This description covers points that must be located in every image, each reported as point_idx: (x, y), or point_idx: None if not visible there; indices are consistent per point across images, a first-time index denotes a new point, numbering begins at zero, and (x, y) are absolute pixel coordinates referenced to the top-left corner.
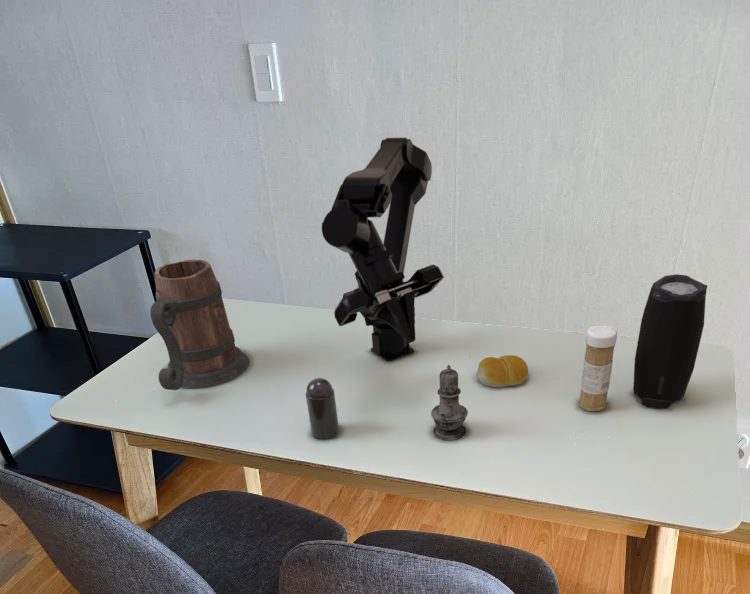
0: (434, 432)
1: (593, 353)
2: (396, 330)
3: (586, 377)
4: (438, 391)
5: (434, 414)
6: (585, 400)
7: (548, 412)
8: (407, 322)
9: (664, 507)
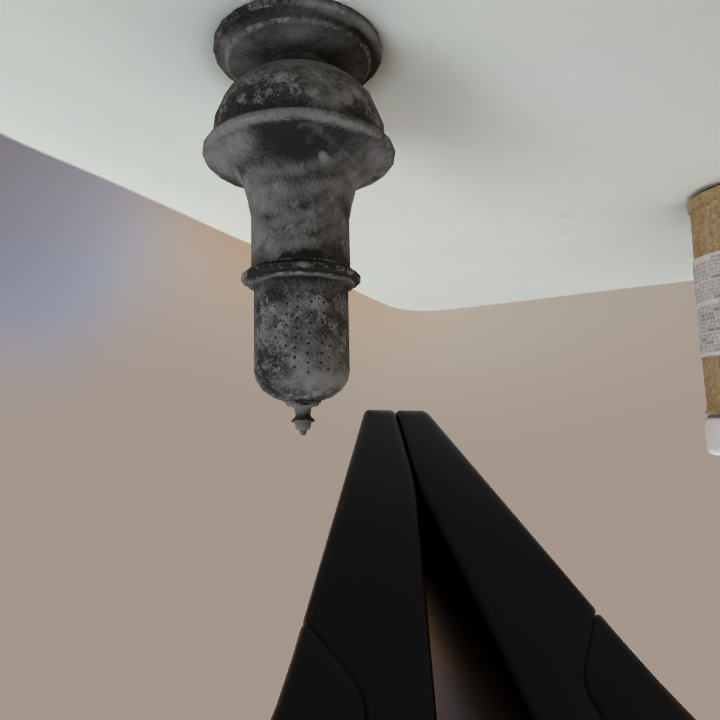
0: (222, 34)
1: (709, 396)
2: (313, 595)
3: (709, 305)
4: (256, 274)
5: (220, 150)
6: (698, 227)
7: (649, 158)
8: (434, 686)
9: (396, 295)
